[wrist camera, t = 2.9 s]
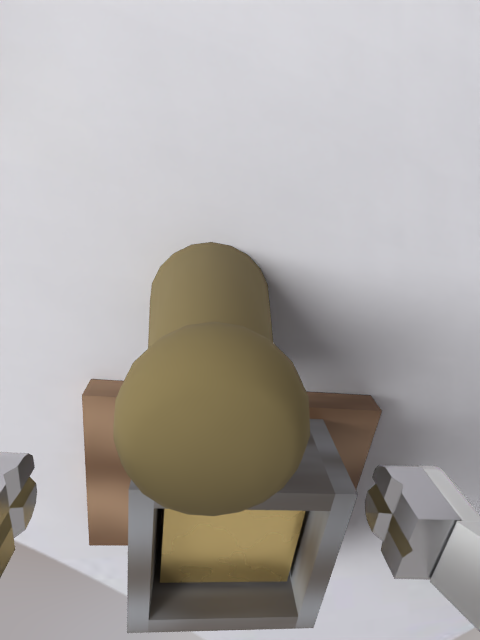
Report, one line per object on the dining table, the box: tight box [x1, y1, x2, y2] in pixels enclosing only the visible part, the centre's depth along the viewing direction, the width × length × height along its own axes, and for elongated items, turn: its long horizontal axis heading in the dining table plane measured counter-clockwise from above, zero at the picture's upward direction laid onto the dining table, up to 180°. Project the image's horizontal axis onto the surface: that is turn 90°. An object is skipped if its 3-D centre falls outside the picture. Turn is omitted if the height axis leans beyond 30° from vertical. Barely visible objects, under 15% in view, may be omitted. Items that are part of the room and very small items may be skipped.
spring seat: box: [160, 509, 306, 583], centre depth 18 cm, size 7×7×1 cm
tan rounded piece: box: [113, 242, 310, 516], centre depth 13 cm, size 6×6×11 cm
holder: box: [82, 379, 382, 633], centre depth 19 cm, size 11×16×6 cm
